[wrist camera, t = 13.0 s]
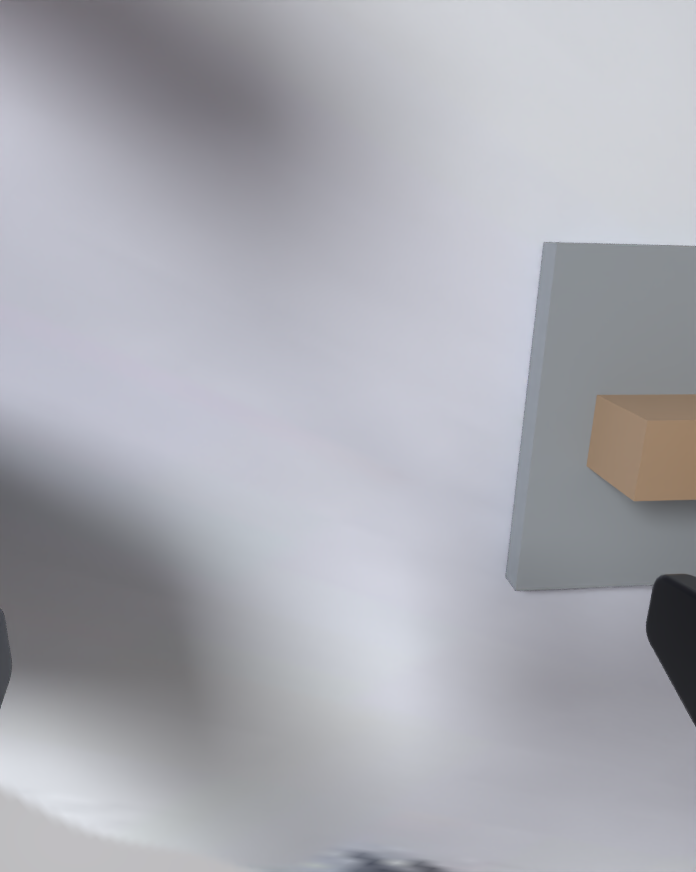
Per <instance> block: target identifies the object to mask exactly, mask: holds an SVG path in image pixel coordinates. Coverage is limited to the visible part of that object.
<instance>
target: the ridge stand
mask: <svg viewBox="0 0 696 872" xmlns="http://www.w3.org/2000/svg"><path fill="white" fill-rule="evenodd" d="M664 574H689V575H692V576H695V577H696V246H675V245H637V244H600V243H562V242H544V244H543V252H542V261H541V270H540V279H539V288H538V296H537V305H536V314H535V323H534V332H533V340H532V349H531V358H530V367H529V376H528V384H527V393H526V402H525V411H524V420H523V428H522V437H521V446H520V455H519V464H518V472H517V481H516V490H515V499H514V508H513V516H512V525H511V534H510V543H509V552H508V560H507V569H506V578H507V580H508V581H509V582H510V584H511V585H512V587H513V588H514V590H515V591H528V590H551V589H574V588H597V587H620V586H643V585H654V582H655V580H656V578H658V577H659V576H660V575H664Z"/></svg>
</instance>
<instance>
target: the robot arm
mask: <svg viewBox="0 0 696 872" xmlns="http://www.w3.org/2000/svg"><path fill="white" fill-rule="evenodd" d="M646 632H647V637H648V640H649V642H650V644H651V646H652V648H653V650H654V652H655V653H656V655H657V657H658V659H659V661H660V663H661V664H662V666H663V668H664V670H665V672H666V674H667V675H668V677H669V679H670V681H671V683H672V685H673V686H674V688H675V690H676V692H677V694H678V696H679V697H680V699H681V701H682V703H683V705H684V707H685V708H686V710H687V712H688V714H689V716H690V718H691V719H692V721H693V723H694V724H695V726H696V577H695V576H692V575H689V574H664V575H660V576H659V577H658V578H656V580H655V582H654V585H653V589H652V594H651V600H650V605H649V610H648V616H647V621H646ZM11 669H12V660H11V653H10V647H9V641H8V634H7V628H6V622H5V617H4V614H3V611H2V609H1V608H0V708H1V705H2V702H3V699H4V695H5V692H6V689H7V686H8V683H9V680H10V676H11Z"/></svg>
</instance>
